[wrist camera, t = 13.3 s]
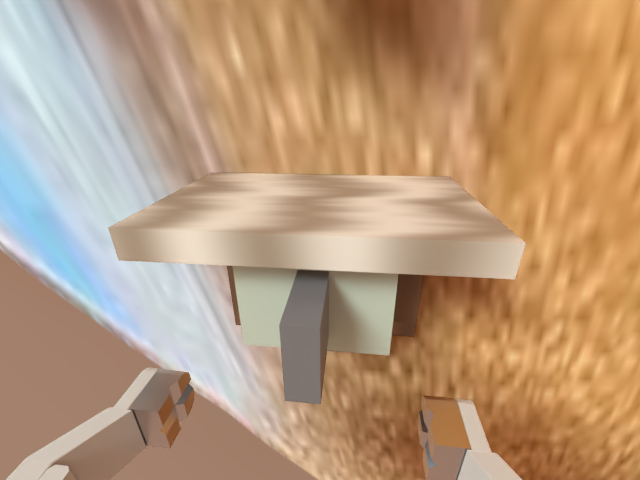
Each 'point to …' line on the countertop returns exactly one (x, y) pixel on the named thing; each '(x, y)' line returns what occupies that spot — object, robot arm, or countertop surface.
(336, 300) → the cube with grey handle
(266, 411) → the countertop surface
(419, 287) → the tan lidded box
